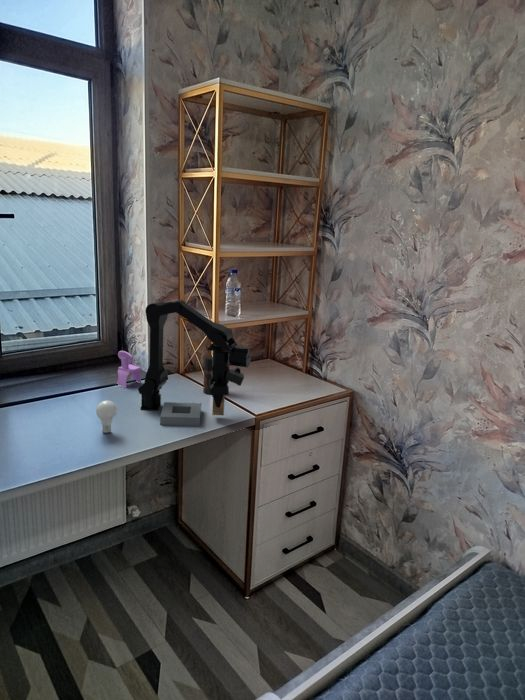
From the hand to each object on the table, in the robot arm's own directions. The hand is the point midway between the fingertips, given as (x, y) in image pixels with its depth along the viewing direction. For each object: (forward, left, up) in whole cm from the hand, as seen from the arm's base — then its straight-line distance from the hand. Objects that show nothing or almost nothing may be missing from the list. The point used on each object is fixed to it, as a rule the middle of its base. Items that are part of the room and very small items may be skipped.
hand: (218, 404), depth 177 cm
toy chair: (-37, +33, -6) cm, 50 cm away
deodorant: (-3, +27, -6) cm, 28 cm away
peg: (0, 0, -3) cm, 3 cm away
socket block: (-13, 0, -5) cm, 14 cm away
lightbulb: (-36, -14, -6) cm, 39 cm away
